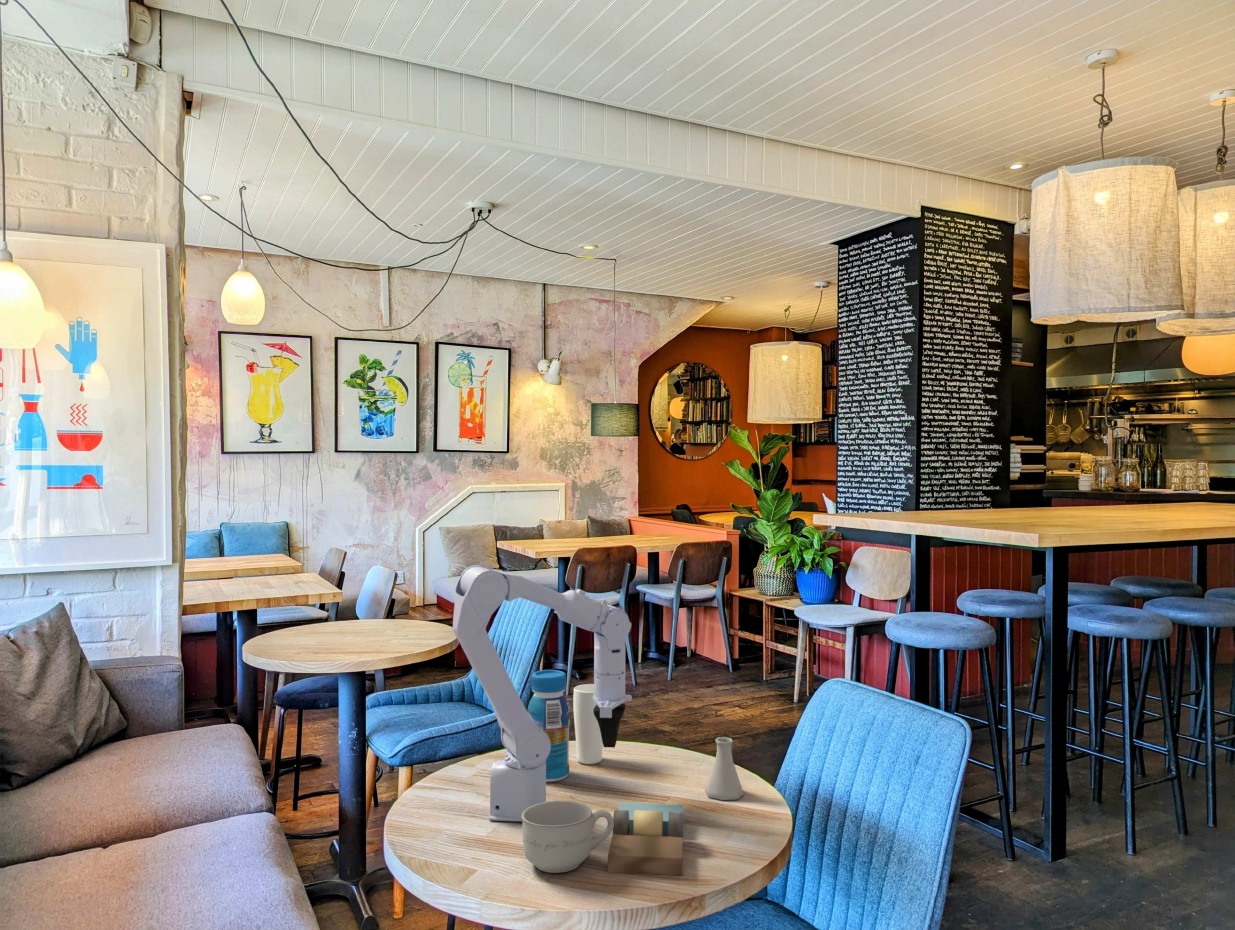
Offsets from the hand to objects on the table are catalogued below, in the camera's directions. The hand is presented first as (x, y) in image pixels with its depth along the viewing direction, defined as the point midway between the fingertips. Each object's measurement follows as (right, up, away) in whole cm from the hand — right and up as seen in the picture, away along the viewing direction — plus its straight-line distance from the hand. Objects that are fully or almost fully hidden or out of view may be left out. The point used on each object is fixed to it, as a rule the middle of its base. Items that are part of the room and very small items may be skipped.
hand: (609, 746), depth 149 cm
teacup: (-6, -9, -25) cm, 28 cm away
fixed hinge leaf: (+6, -9, -22) cm, 25 cm away
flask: (+21, -10, +2) cm, 23 cm away
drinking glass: (-4, -10, +19) cm, 22 cm away
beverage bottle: (-12, -10, +11) cm, 19 cm away
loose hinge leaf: (+7, -9, -15) cm, 19 cm away
